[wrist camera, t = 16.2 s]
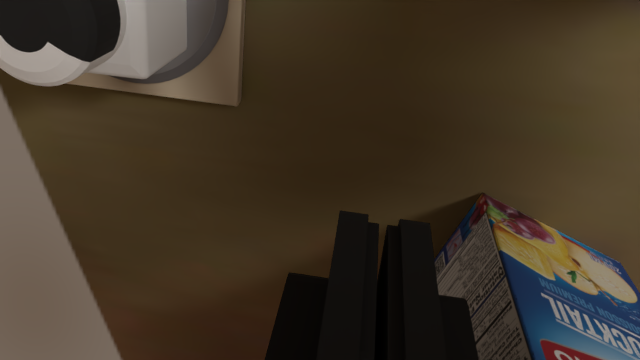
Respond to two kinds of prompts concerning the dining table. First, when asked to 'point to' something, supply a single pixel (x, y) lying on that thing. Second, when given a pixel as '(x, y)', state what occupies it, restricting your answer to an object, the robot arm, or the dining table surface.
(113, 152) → the dining table surface
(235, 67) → the board
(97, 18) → the medicine bottle
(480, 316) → the juice carton
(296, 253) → the dining table surface
